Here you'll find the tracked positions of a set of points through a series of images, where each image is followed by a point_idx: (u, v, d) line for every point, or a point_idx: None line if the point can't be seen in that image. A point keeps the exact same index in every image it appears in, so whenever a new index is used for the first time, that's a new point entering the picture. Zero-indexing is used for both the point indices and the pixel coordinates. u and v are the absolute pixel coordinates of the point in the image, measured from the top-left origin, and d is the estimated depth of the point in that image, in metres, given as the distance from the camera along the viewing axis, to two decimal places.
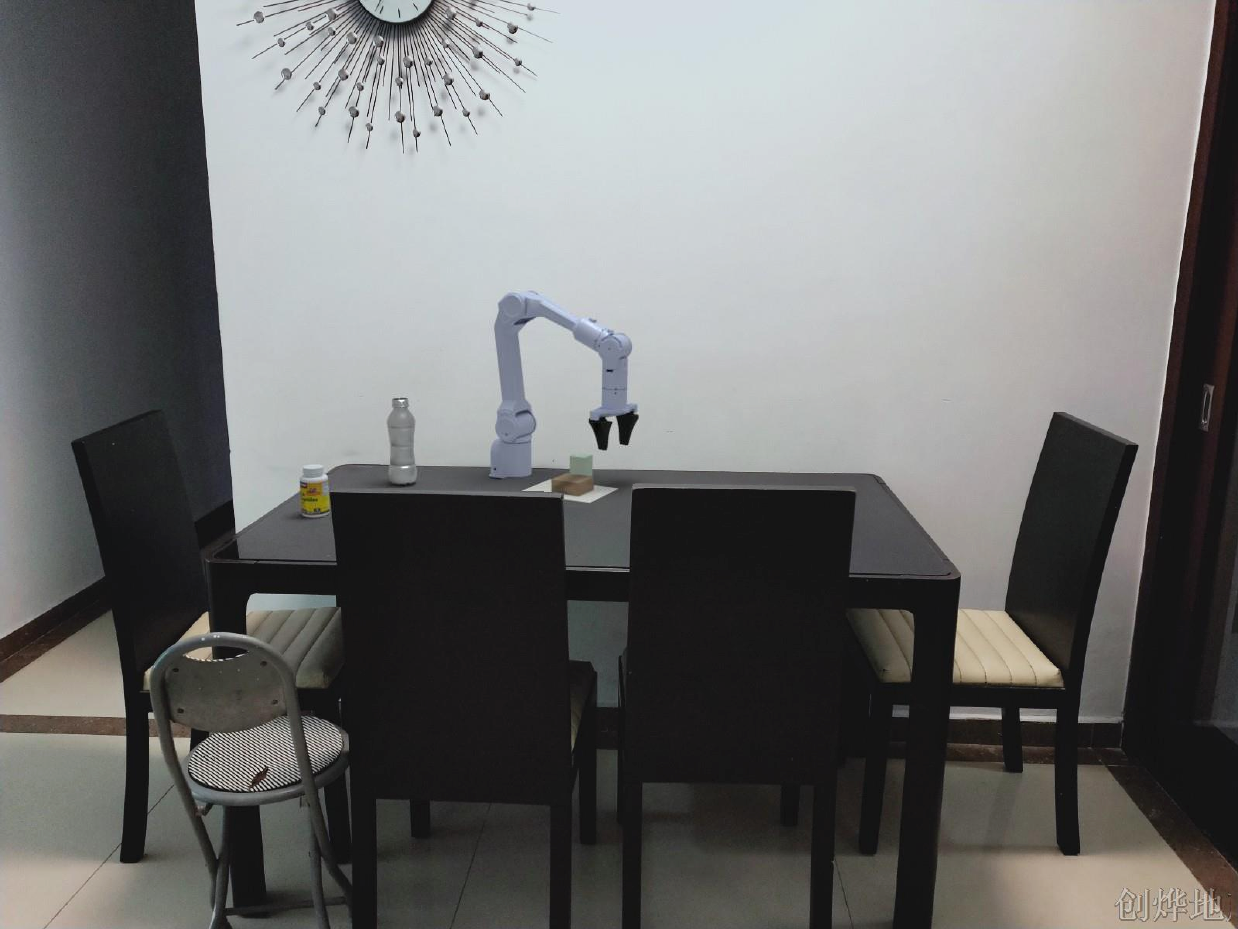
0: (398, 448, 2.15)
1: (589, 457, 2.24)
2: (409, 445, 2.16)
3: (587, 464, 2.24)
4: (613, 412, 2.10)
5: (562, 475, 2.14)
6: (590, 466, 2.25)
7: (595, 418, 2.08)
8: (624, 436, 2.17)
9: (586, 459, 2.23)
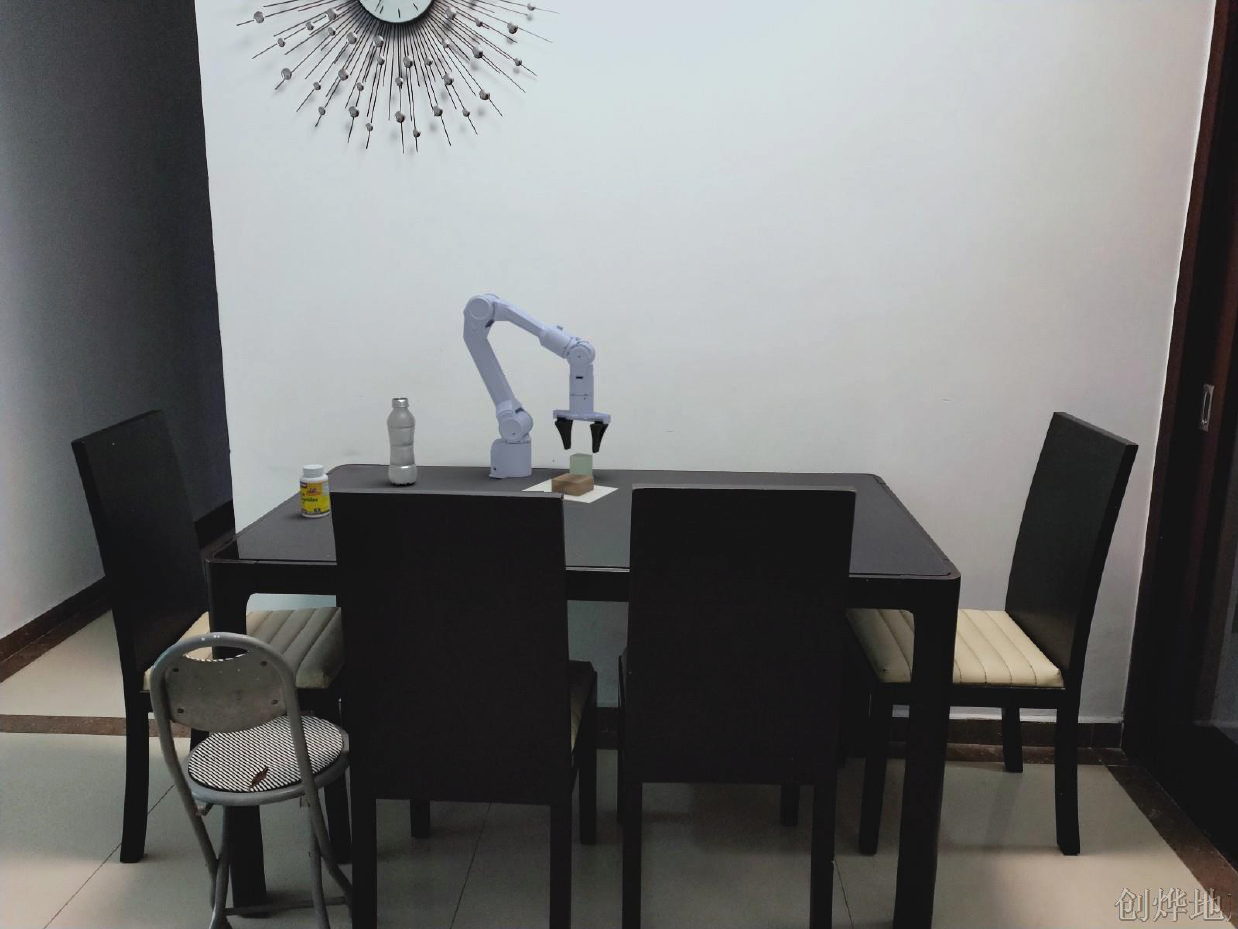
0: (398, 448, 2.15)
1: (589, 457, 2.24)
2: (409, 445, 2.16)
3: (587, 464, 2.24)
4: (566, 415, 2.22)
5: (562, 475, 2.14)
6: (590, 466, 2.25)
7: None
8: None
9: (586, 459, 2.23)
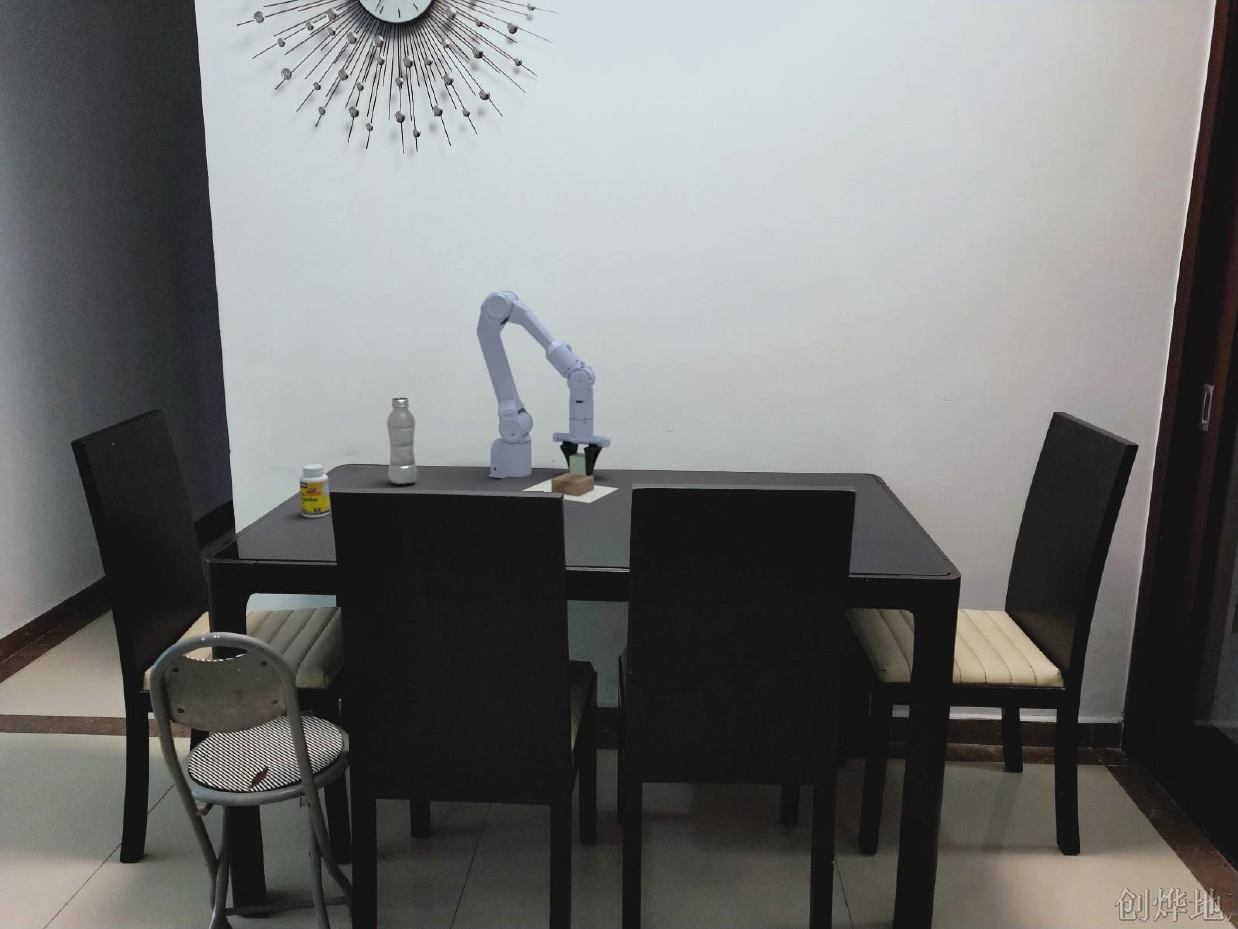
0: (398, 448, 2.15)
1: None
2: (409, 445, 2.16)
3: None
4: (566, 438, 2.23)
5: (562, 475, 2.14)
6: None
7: None
8: None
9: None
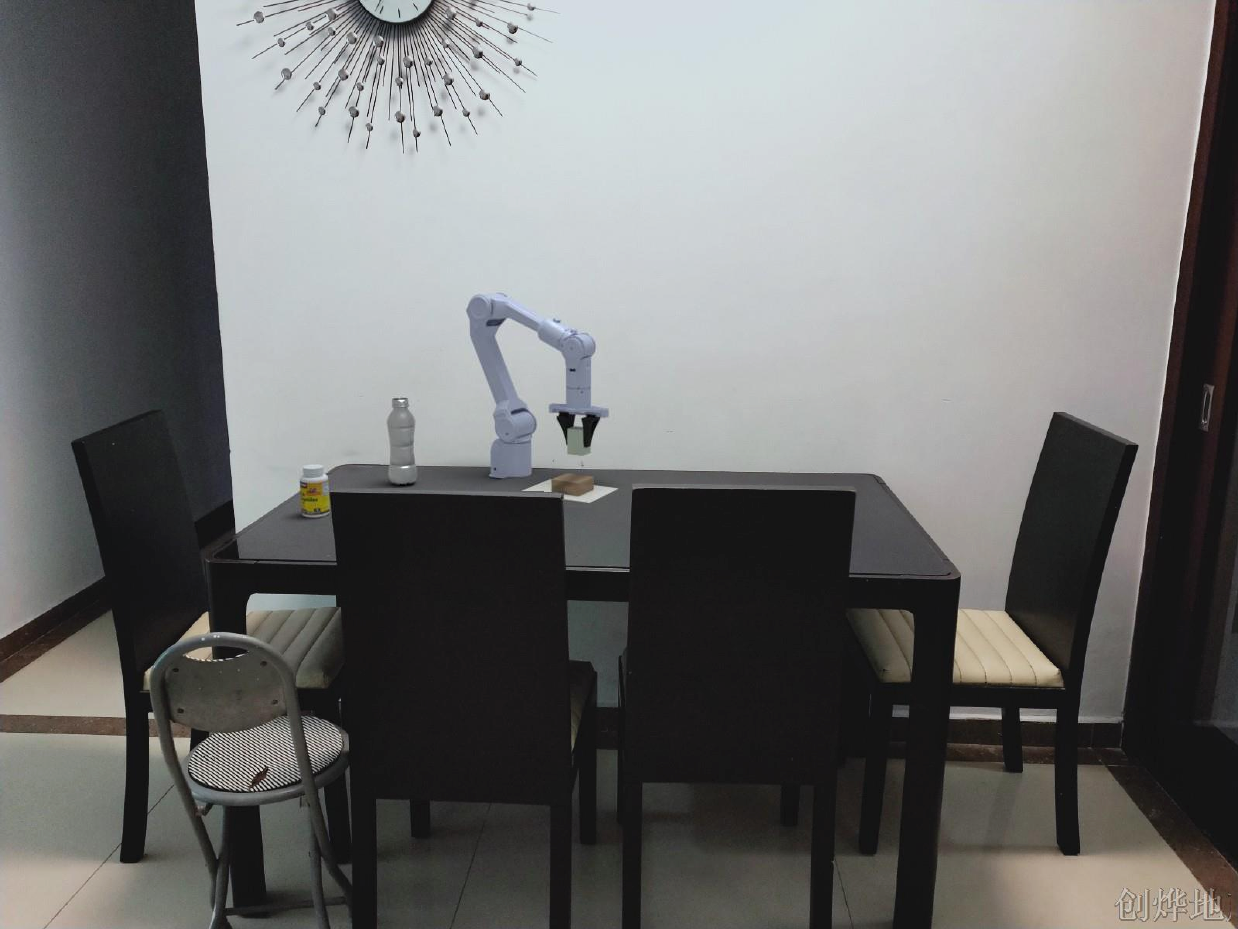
0: (398, 448, 2.15)
1: None
2: (409, 445, 2.16)
3: None
4: (562, 409, 2.16)
5: (562, 475, 2.14)
6: None
7: None
8: None
9: None
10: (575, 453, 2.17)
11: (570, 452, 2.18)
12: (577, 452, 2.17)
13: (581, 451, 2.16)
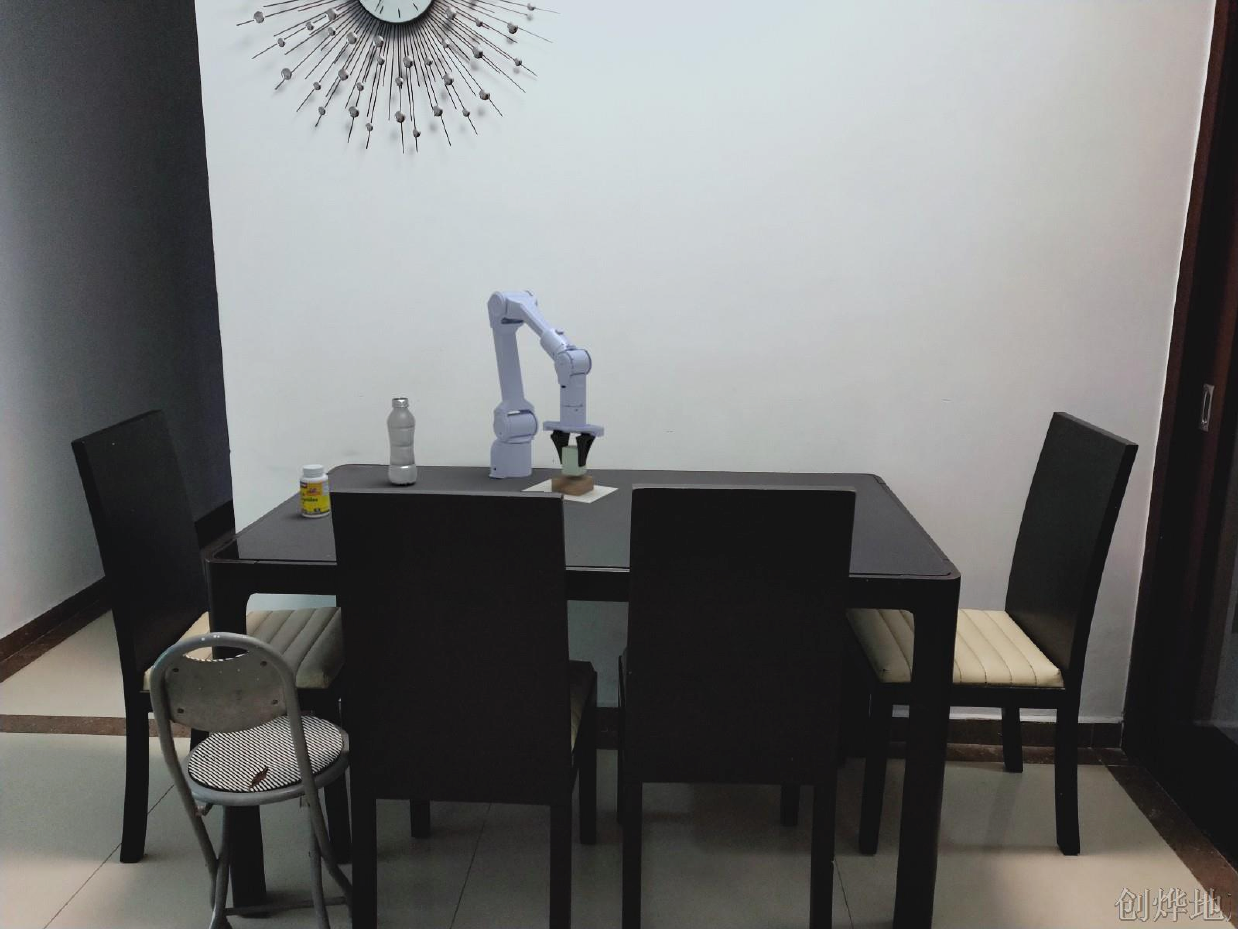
0: (398, 448, 2.15)
1: None
2: (409, 445, 2.16)
3: None
4: (556, 427, 2.08)
5: (562, 475, 2.14)
6: None
7: None
8: None
9: None
10: (570, 473, 2.10)
11: (565, 472, 2.10)
12: (571, 471, 2.10)
13: (576, 470, 2.09)
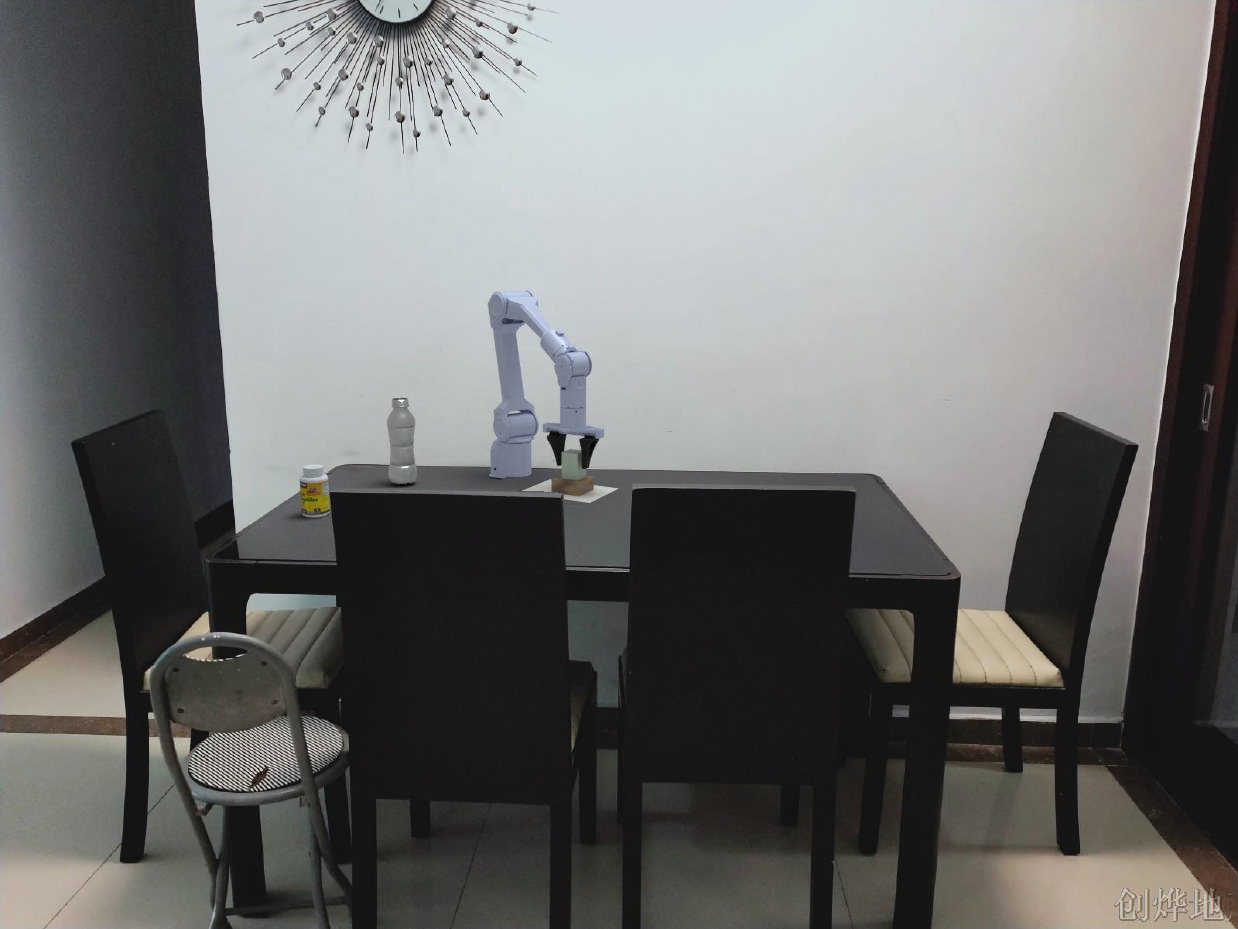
0: (398, 448, 2.15)
1: None
2: (409, 445, 2.16)
3: (580, 460, 2.10)
4: (556, 428, 2.08)
5: None
6: None
7: None
8: None
9: (579, 455, 2.09)
10: (569, 477, 2.10)
11: (564, 476, 2.11)
12: (571, 476, 2.10)
13: (576, 475, 2.09)
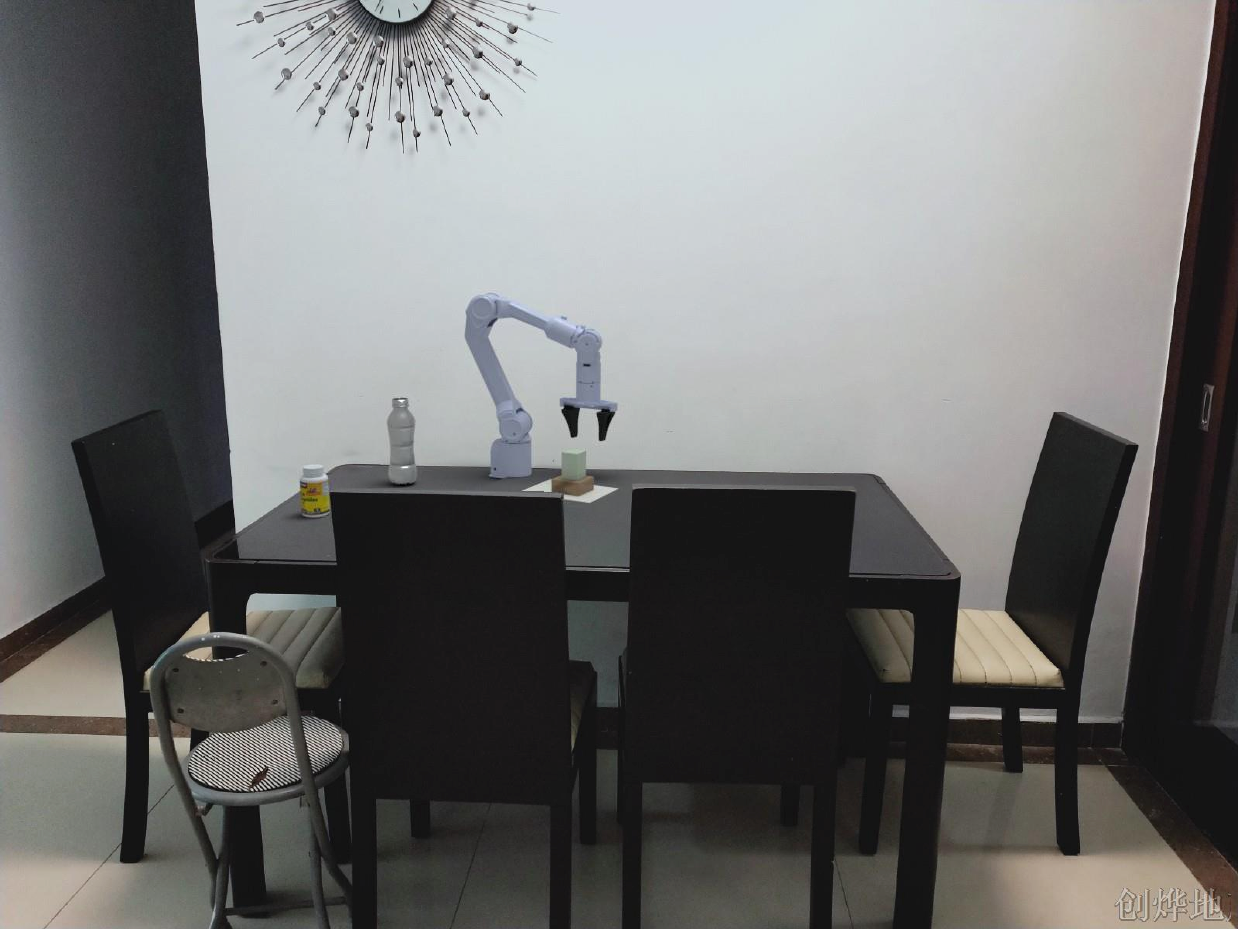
0: (398, 448, 2.15)
1: (582, 453, 2.10)
2: (409, 445, 2.16)
3: (580, 460, 2.10)
4: (573, 402, 2.21)
5: None
6: (583, 463, 2.11)
7: None
8: None
9: (579, 455, 2.09)
10: (569, 477, 2.10)
11: (564, 476, 2.11)
12: (571, 476, 2.10)
13: (576, 475, 2.09)
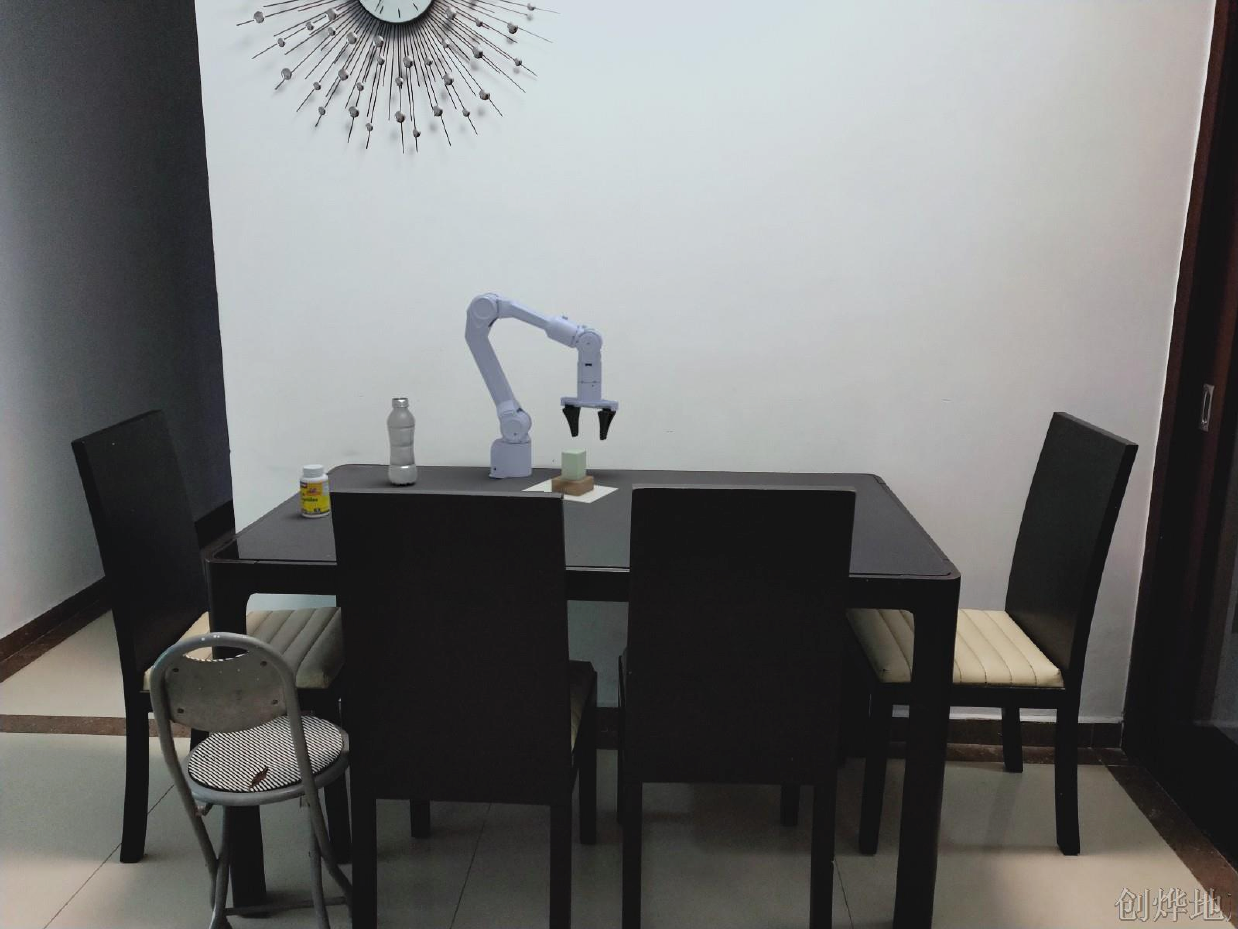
0: (398, 448, 2.15)
1: (582, 453, 2.10)
2: (409, 445, 2.16)
3: (580, 460, 2.10)
4: (574, 402, 2.22)
5: None
6: (583, 463, 2.11)
7: None
8: None
9: (579, 455, 2.09)
10: (569, 477, 2.10)
11: (564, 476, 2.11)
12: (571, 476, 2.10)
13: (576, 475, 2.09)
